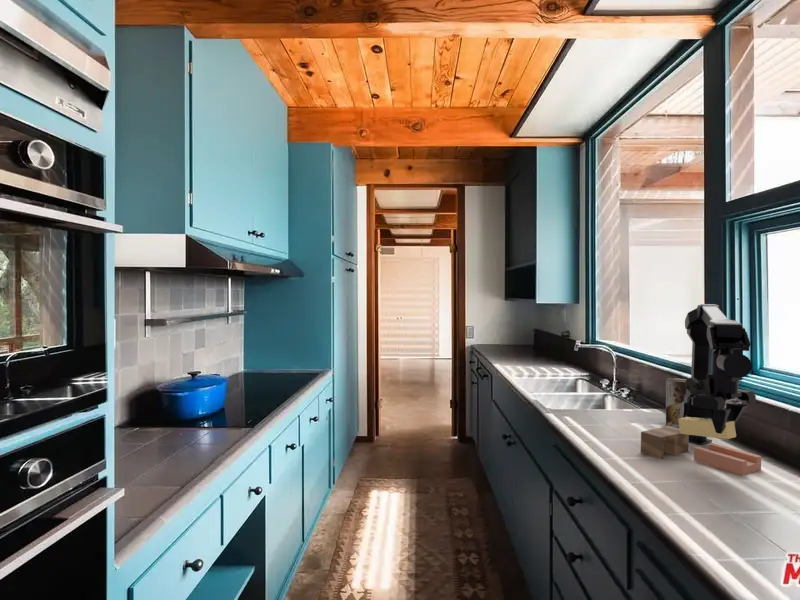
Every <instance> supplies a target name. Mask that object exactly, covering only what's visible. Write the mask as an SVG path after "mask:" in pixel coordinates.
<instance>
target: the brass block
mask: <svg viewBox="0 0 800 600" xmlns="http://www.w3.org/2000/svg"><path fill="white" fill-rule="evenodd" d="M678 421H679V429H680V434H688V435H696V436H705V437H707V438H714V439H723V440H729V439H734V438H736V437H737V433H736V423H735V424H734V421H730V420H727V421H726V423H725V426H724V428H723V431H722V433H721V434H719V433H716V431H715V428H714V425H713V422H712V419H706V418H694V417H684V418H679V419H678Z"/></svg>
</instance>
